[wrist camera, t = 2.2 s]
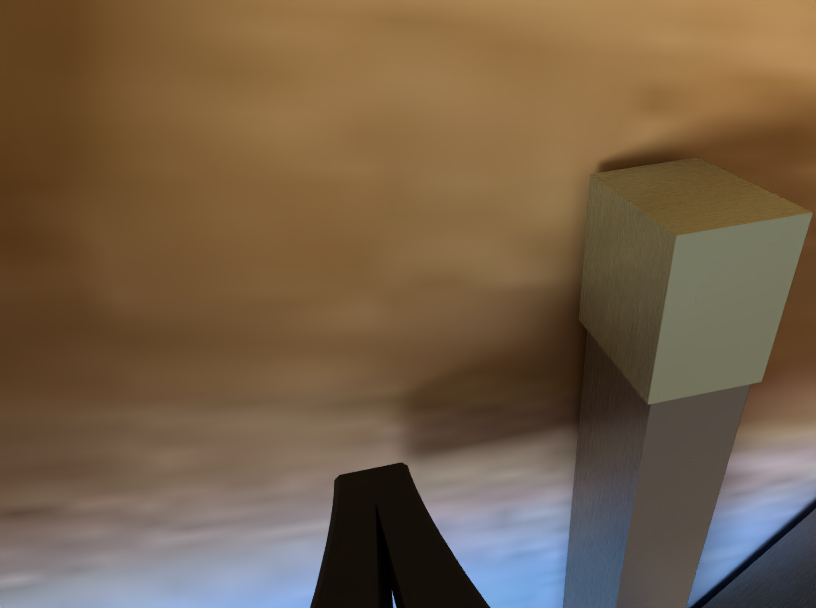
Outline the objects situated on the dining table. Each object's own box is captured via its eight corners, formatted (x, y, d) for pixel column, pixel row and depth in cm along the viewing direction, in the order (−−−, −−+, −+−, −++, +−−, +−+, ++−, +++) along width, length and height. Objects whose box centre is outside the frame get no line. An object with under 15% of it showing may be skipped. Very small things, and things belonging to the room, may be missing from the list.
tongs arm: (698, 157, 10) (813, 212, 8) (610, 646, 19) (653, 738, 16) (590, 174, 10) (675, 235, 8) (552, 661, 18) (587, 756, 16)
